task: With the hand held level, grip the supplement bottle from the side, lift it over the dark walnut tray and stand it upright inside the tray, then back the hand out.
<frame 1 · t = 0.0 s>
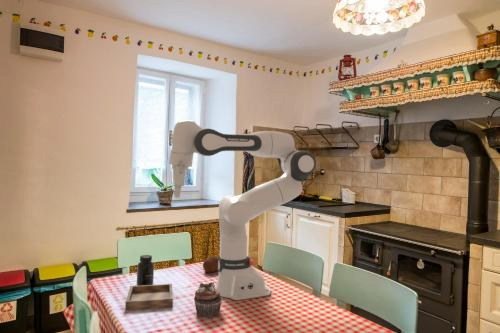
hand: (176, 196, 134), 39 cm above the table, tool pointing down, fingers open, 8 cm apart
cupcake: (208, 313, 119), on the table
potato: (211, 271, 166), on the table
tray: (150, 300, 129), on the table
supplement bottle: (145, 284, 146), on the table
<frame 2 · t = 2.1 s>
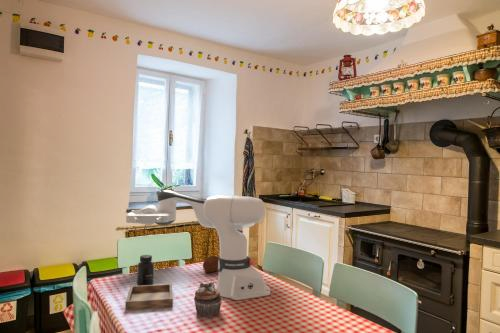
hand: (147, 220, 162), 24 cm above the table, tool horizontal, fingers open, 8 cm apart
nothing on the table moved.
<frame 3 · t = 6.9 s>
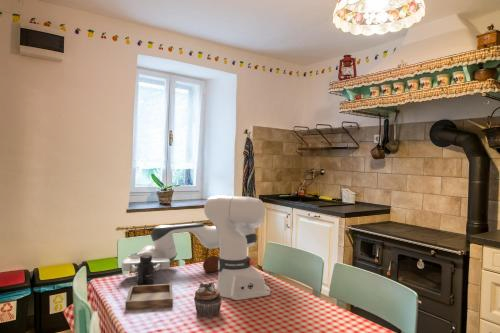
hand: (145, 269, 145), 7 cm above the table, tool horizontal, fingers closed on supplement bottle, 7 cm apart
supplement bottle: (145, 284, 146), on the table, touching gripper
everything else where it was.
when the fingers open (9 cm above the table, at t = 12.9 s): supplement bottle stays where it is, resting on tray.
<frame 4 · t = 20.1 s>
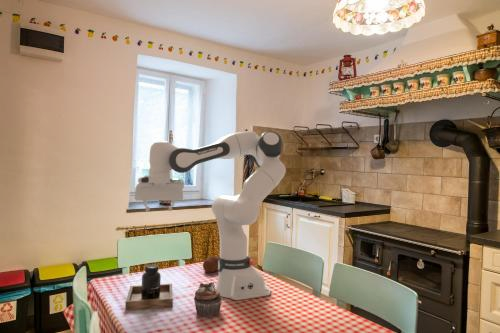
hand: (159, 210, 148), 31 cm above the table, tool pointing down, fingers open, 8 cm apart
supplement bottle: (150, 298, 129), point 1 cm above the table, touching tray
everything else where it was.
at the end: supplement bottle inside the target area on the tray (0.1 cm from its centre), point 0.6 cm above the tray's base; supplement bottle tilted 0°; the gripper is holding nothing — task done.
